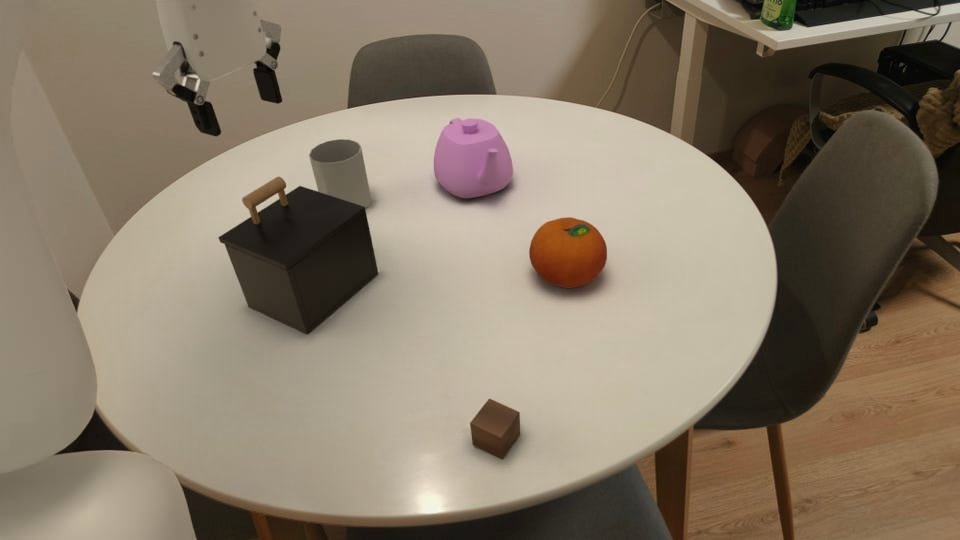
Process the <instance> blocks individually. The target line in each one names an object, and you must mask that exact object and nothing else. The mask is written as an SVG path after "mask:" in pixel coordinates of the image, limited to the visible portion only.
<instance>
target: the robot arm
mask: <svg viewBox="0 0 960 540" xmlns="http://www.w3.org/2000/svg"><path fill="white" fill-rule="evenodd" d="M42 2H43V0H0V540H198V539H197V536H196V533H195V529H194V526H193V521H192V518H191V514H190V510H189V506H188V501H187V498H186V495H185V493H184V490H183V486H182V485H181V483H180V481H179V480H178V478H177V476H176V474H175V473H174V471H173V470H172V469H171V468H170V467H169V466H168V465H167V464H165V463H164V462H163V461H161V460H159V459H158V458H156V457H153V456H150V455H148V454H145V453H140V452H135V451H129V450H114V449H111V450H110V449H104V450H103V449H102V450H101V449H100V450H85V451H75V452H67V453H60V454H58V453H59V452H61V451H63V450H65V449H66V448H67V447H68V446H69V445H71V444H72V443H74V441H76V440H77V439H78V438H79V436H80V435H81V434H82V433H83V431H84V430H85V429H86V427H87V426H88V424H89V423H90V422H91V419H92V418H93V415H94V413H95V409H96V406H97V399H98V377H97V376H98V375H97V370H96V366H95V362H94V359H93V356H92V351H91V349H90V346H89V343H88V339H87V337H86V335H85V331H84V329H83V328H84V327H83V326H82V323H81V321H80V318H79V314H78V313H77V311H76V307H75V304H74V303H73V300H72V297H71V294H70V292H69V290H68V288H67V285H66V282H65V280H64V278H63V275H62V272H61V270H60V268H59V265H58V263H57V260H56V257H55V254H54V253H53V250H52V248H51V245H50V241H49V240H48V238H47V235H46V233H45V229H44V227H43V225H42V222H41V220H40V217H39V214H38V213H37V210H36V208H35V205H34V202H33V200H32V198H31V195H30V191H29V188H28V185H27V183H26V180H25V177H24V174H23V171H22V168H21V166H20V162H19V159H18V156H17V153H16V150H15V144H14V137H13V129H12V120H11V112H12V96H13V95H12V93H13V86H14V82H15V77H16V73H17V68H18V64H19V63H18V62H19V60H20V56H21V53H22V50H23V47H24V44H25V41H26V37H27V35H28V32H29V30H30V28H31V25H32V22H33V20H34V18H35V16H36V14H37V12H38V10H39V8H40V6H41V4H42ZM155 5H156V10H157V16H158V20H159V25H160V27H161V28H160V29H161V32H162V36H163V39H164V43H165V46H166V49H167V53H166V54H165V56H164V57H163V58H162V59H161V61H160V62H159V64H158V65H157V66H156V67H155V69H154V70H153V71H152V74H151V75H152V78H153V79H154V80H155V81H156V82H157V83H158V84H159V85H160V86H161V87H162V88H163V89H164V90H165V91H166V92H167V94H169V95H170V96H173V97H174V98H177V99H180V101H182V102H184V103H186V104H187V107H188V109H189V112H190V115H191V117H192V120H193V123H194V126H195V127H196V129H197V130H198V131H199V132H200V133H202V134H205V135H209V136H213V137H217V138H218V137H219V136H220V135H222V130H221V127H220V123H219V120H218V117H217V116H216V112H215V108H214V106H213V104H212V102H211V101H207V100H206V99H207V95H208V91H209V88H210V84H211V82H214V81H216V80H219V79H221V78H223V77H225V76H228V75H231V74H232V73H234V72H237V71H240V70H241V69H243V68H246V67H248V66H249V65H252V64H253V65H254V66H255V67H254V68H253V69H252V71H253V76H254V80H255V85H256V87H257V91H258V94H259V98H260V99H261V101H264V102H268V103H272V104H277V105H279V104H281V103H283V96H282V93H281V89H280V85H279V81H278V77H277V73H276V70H277V69H278V67H279V63H278V58H279V55H280V52H281V45H280V42H281V34H282V26H281V25H280V24H279V23H274V22H271V21H267V20H263V19H260V16H259V14H258V10H257V8H256V5H255V2H254V0H155ZM176 75H177V76H179V77H181V78H183V79H182V83H180V82H179V80H177V79H176Z"/></svg>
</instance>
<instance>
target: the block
mask: <svg viewBox="0 0 960 540" xmlns="http://www.w3.org/2000/svg"><path fill="white" fill-rule="evenodd" d="M469 427H470V435H471V436H470V437H471V443H472V446H473V447H475V448H477V449H479V450H481V451H483V452H485V453H487V454H489V455H491V456H493V457H495V458H497V459H499V460H501V461H504V459H505V458H506V456H507V455H508V453H509V452H510V451H511V449H512V447H513V446H514V445H515V443H516V442H517V440H518V439H519V437H520V436H521V413H520V411H518V410H516V409H514V408H512V407H509V406H508V405H505V404H503V403H501V402H498V401H496V400H494V399H492V398H488V399H487V401H486V402H485V403H484V404H483V405H482V406H481V408H480V409H479V411H478V412H477V413H476V414H475V416H474V417H473V418H472V420H471V421H470V423H469Z"/></svg>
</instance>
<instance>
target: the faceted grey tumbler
mask: <svg viewBox="0 0 960 540" xmlns="http://www.w3.org/2000/svg"><path fill="white" fill-rule="evenodd" d="M308 157H309V160H310V161H309V162H310V164H311V165H310V166H311V168H312V173H313V177H314V180H315V184H316V188H317V191H318V192H321V193H324V194H327V195H330V196H333V197H336V198H339V199H342V200H345V201H348V202H351V203H355V204H358V205H361V206H364V207H365V210H366V209H367V208H368V207H369V206H370V205H371V204H372V203H371V202H372V195H371V190H370V186H369V185H370V184H369V180H368V179H369V178H368V175H367V169H366V164H365V159H364V154H363V148H362V146H361V144H360V143H359V142H358V141H355V140H352V139H346V138H345V139H344V138H339V139H333V140H327V141H324V142H322V143H319V144H317V145H316V146H314V147H313V148H311V150H310V152H309V154H308Z"/></svg>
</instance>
